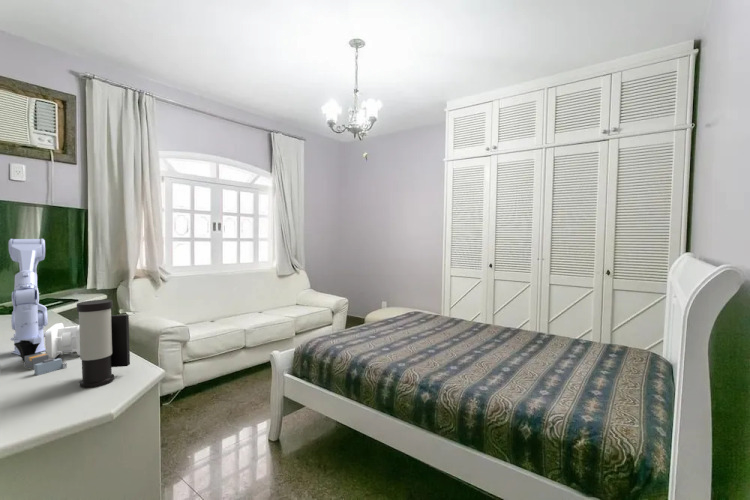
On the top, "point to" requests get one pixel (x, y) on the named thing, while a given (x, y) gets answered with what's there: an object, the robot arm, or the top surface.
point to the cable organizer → (61, 340)
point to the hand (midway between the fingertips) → (28, 361)
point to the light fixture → (101, 342)
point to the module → (34, 360)
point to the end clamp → (48, 366)
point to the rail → (63, 365)
